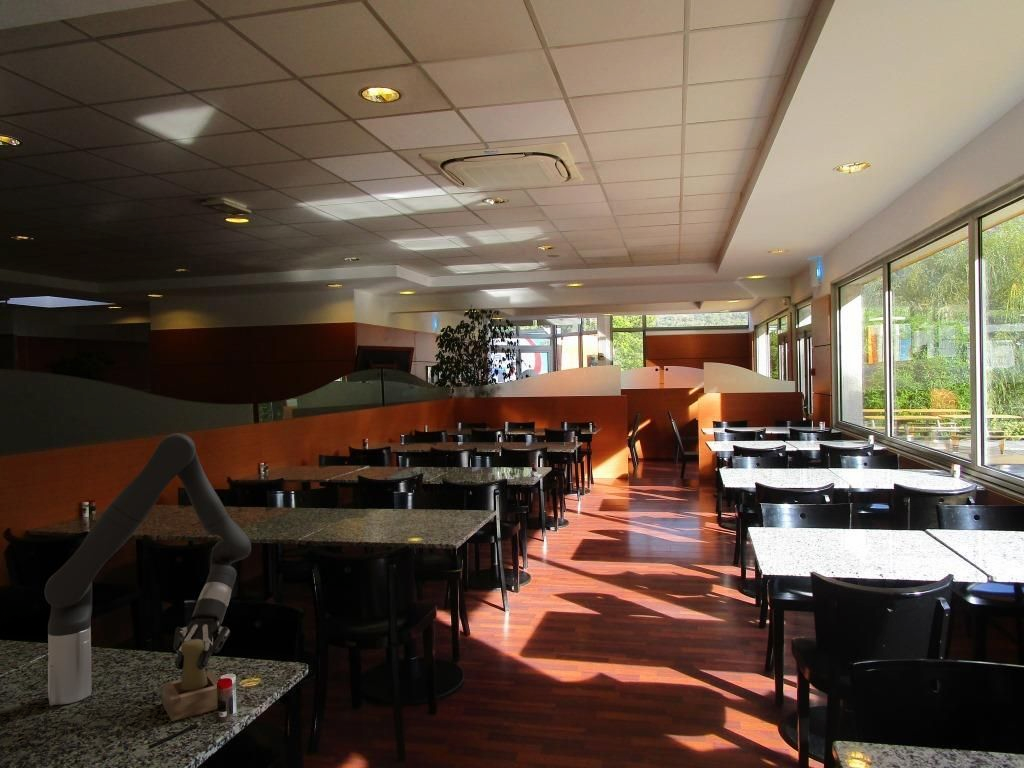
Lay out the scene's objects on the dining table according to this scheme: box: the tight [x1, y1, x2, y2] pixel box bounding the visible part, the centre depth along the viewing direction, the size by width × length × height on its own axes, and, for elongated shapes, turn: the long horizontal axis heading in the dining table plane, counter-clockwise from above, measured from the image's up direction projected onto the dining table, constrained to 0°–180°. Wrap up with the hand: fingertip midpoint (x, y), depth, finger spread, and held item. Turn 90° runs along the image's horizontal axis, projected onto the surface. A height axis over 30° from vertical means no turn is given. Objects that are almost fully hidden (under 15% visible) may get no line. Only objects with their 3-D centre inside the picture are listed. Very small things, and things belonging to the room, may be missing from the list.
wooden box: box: [161, 671, 220, 722], centre depth 171 cm, size 12×12×5 cm
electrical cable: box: [148, 722, 202, 749], centre depth 155 cm, size 12×1×1 cm, turn 149°
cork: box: [181, 639, 207, 690], centre depth 171 cm, size 6×6×11 cm
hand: (189, 668), depth 170 cm, fingers closed on cork, 5 cm apart
